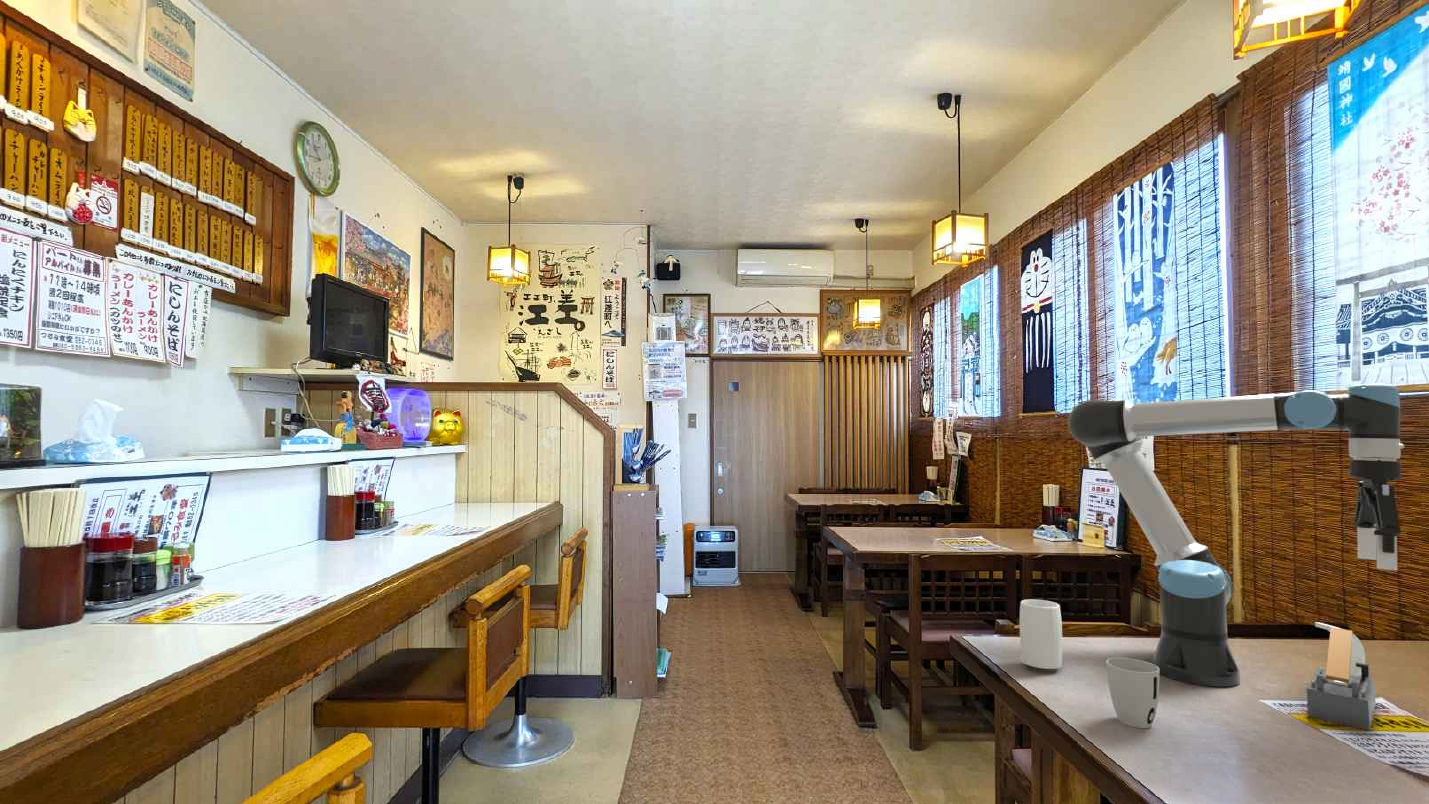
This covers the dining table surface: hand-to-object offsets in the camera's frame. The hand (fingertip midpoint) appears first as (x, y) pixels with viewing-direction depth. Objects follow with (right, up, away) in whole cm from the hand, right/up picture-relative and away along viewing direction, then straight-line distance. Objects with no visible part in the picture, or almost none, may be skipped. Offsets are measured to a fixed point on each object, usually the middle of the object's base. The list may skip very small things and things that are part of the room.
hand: (1376, 564), depth 134 cm
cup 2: (-60, -24, -17) cm, 67 cm away
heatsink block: (-18, -25, -11) cm, 33 cm away
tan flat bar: (-17, -15, -10) cm, 25 cm away
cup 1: (-63, -26, +12) cm, 69 cm away
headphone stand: (-5, -26, +3) cm, 26 cm away
